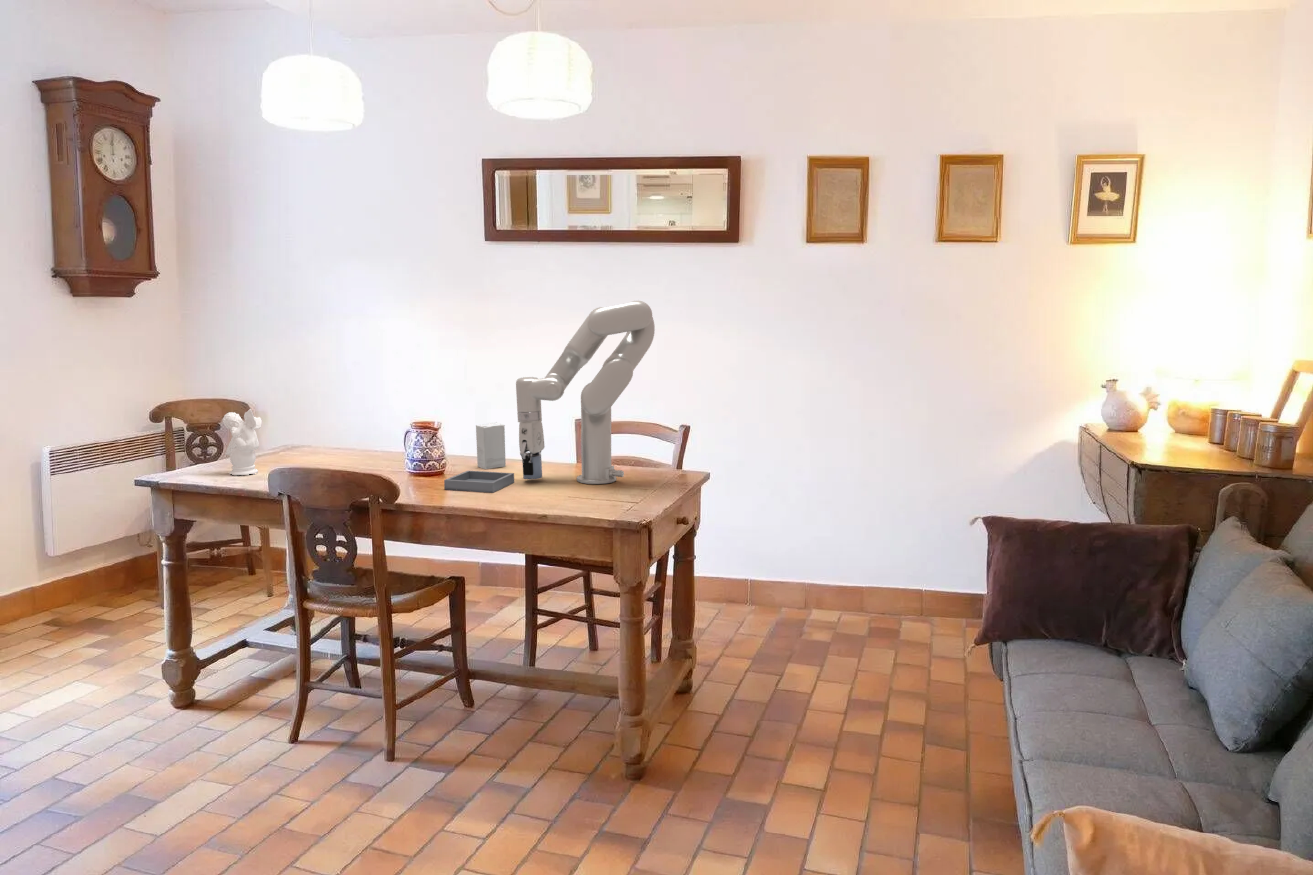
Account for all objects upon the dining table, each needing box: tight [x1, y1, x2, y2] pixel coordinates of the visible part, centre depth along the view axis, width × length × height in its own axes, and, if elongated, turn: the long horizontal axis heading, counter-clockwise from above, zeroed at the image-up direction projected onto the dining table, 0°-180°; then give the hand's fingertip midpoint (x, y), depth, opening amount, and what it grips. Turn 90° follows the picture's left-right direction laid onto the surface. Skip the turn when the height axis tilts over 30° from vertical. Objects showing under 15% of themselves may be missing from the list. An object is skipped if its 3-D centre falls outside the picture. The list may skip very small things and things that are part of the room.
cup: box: [522, 454, 543, 480], centre depth 308 cm, size 6×6×7 cm
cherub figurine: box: [222, 408, 263, 476], centre depth 319 cm, size 12×12×22 cm
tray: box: [443, 470, 515, 494], centre depth 301 cm, size 16×16×3 cm
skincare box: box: [475, 422, 507, 470], centre depth 331 cm, size 8×6×15 cm
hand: (532, 472), depth 308 cm, fingers closed on cup, 6 cm apart
